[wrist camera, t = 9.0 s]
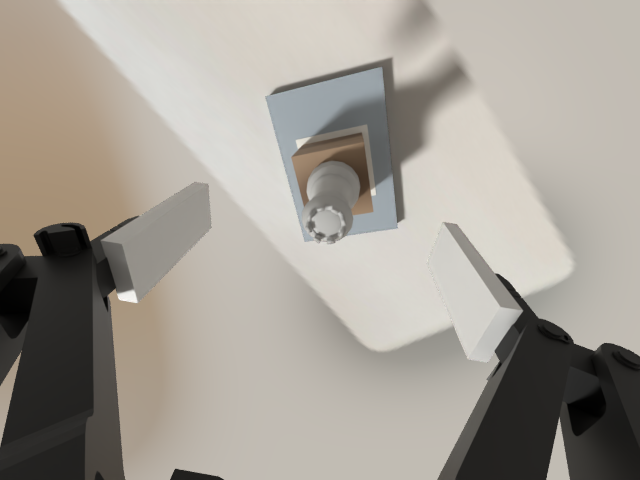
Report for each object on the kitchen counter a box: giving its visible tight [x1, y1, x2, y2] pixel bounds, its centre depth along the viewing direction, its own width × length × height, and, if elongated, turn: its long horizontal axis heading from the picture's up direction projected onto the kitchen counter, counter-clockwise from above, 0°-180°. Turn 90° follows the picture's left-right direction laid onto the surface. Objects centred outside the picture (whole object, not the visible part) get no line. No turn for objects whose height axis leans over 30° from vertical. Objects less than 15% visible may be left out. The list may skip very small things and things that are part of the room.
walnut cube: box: [291, 132, 374, 215], centre depth 26 cm, size 6×6×6 cm
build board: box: [265, 67, 398, 242], centre depth 29 cm, size 16×11×1 cm
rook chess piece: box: [302, 161, 360, 244], centre depth 20 cm, size 4×4×8 cm
